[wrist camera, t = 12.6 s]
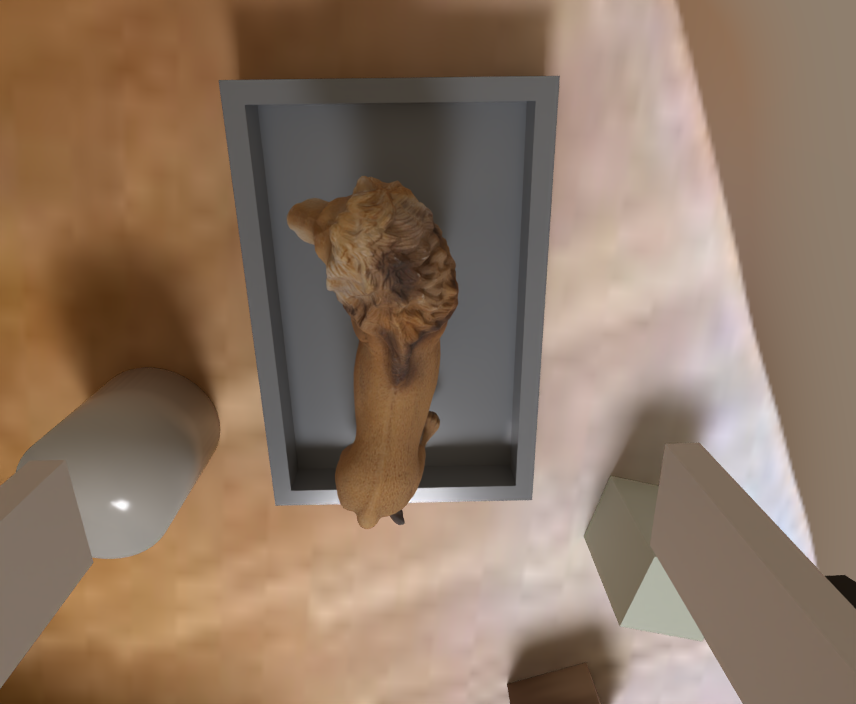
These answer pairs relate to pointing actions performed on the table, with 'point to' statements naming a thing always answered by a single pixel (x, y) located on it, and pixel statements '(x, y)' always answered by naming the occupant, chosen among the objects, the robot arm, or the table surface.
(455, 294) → the lion figurine
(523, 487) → the slate tray
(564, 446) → the table surface
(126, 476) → the pale grey rounded cylinder
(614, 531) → the sage block
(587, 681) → the walnut block
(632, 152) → the table surface
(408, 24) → the table surface
